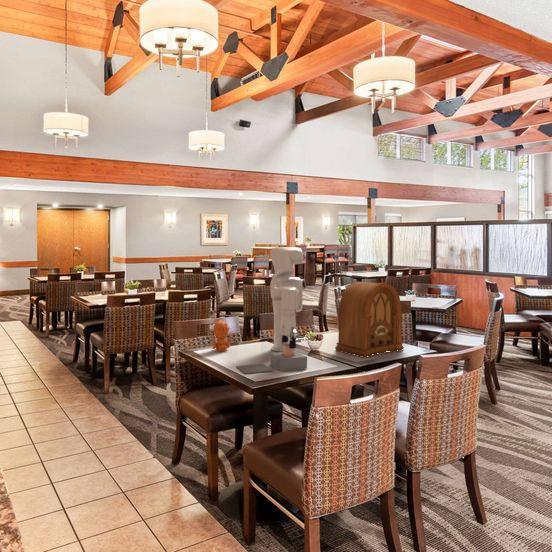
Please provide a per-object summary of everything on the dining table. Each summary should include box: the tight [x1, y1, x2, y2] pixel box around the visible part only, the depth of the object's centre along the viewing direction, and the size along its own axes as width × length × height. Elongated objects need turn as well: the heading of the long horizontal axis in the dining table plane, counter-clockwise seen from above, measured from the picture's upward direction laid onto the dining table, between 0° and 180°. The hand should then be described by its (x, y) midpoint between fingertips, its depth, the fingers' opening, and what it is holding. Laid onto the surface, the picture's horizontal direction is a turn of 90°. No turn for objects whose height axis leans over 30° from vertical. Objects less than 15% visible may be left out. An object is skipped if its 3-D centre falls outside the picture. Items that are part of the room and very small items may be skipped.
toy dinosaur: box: [211, 319, 232, 352], centre depth 277 cm, size 11×11×18 cm
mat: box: [236, 363, 273, 375], centre depth 235 cm, size 14×14×1 cm
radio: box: [334, 281, 405, 358], centre depth 278 cm, size 33×23×40 cm
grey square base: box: [270, 350, 308, 372], centre depth 241 cm, size 14×14×6 cm
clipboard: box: [263, 334, 305, 343], centre depth 314 cm, size 19×2×30 cm
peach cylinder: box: [282, 342, 295, 357], centre depth 240 cm, size 5×5×10 cm
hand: (288, 346), depth 240 cm, fingers open, 9 cm apart
